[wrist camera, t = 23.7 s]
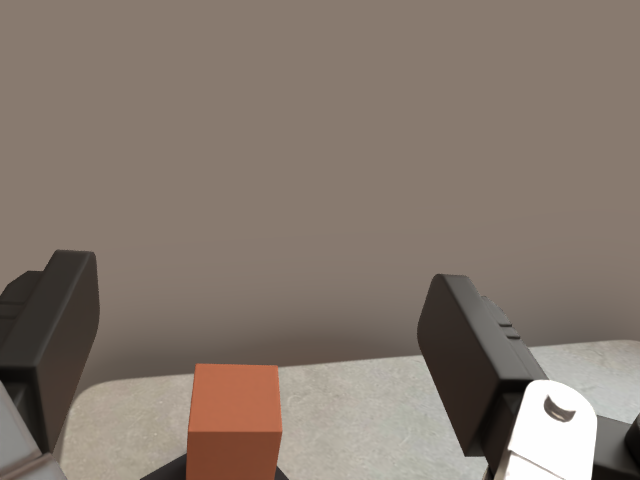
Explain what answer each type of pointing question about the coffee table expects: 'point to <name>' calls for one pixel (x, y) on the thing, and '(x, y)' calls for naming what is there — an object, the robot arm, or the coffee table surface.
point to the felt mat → (174, 473)
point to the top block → (234, 423)
